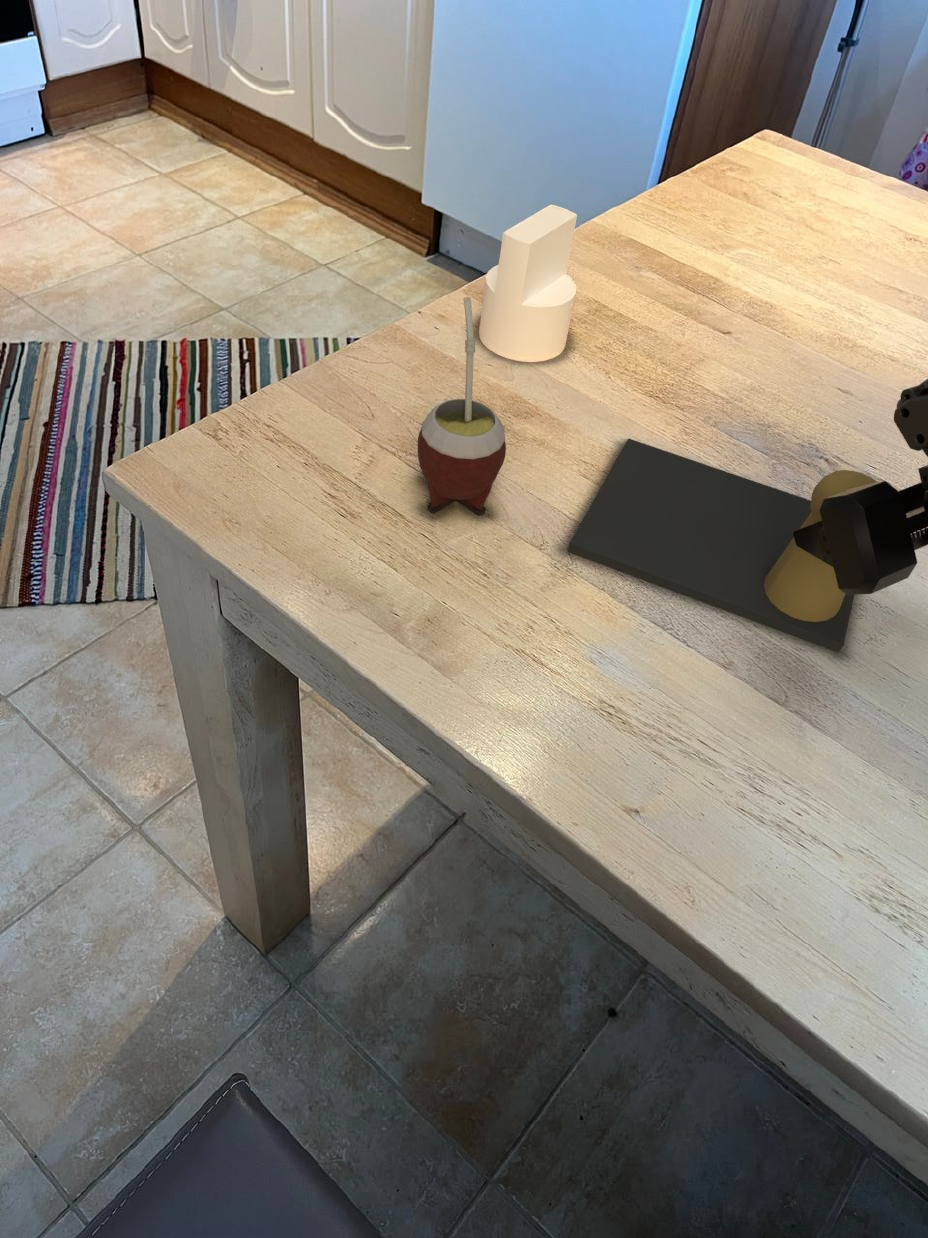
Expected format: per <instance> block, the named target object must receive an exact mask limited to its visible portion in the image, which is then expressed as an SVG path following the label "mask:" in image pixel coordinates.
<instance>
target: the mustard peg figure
mask: <svg viewBox="0 0 928 1238" xmlns="http://www.w3.org/2000/svg"><path fill="white" fill-rule="evenodd" d="M876 482H878V481H877V480H876V479H874V477H872V476H869V475H867V474H865V473H863V472H859V471H855V470H851V469H839V470H835V471H833V472H829V473H828V474H826V475H825V476H823V477H822V478H821V479H820V481H819V482H818V483H817V484H816V485H815V486H814V488H813V490H812V492H811V497H810V500H811V503H810V508H811V511H812V512H811V513H810V515H809V516H808V518H807V519H806V520H805V522H804V523H803V525H802V526H801V528H803V527H805V526H808V525H810V524H813V523H816V522H818V521H821V520H822V519H821V514H820V507H821V504H822V502H823V499H824V498H827V497H830V496H832V495H835V494H838V493H841V492H843V491H846V490H849V489H851V488H855V487H858V486H862V485H866V484H870V483H876ZM764 589H765V593H766V595H767V597H768V598H769V600H770V601H771V603H772V604H774V605H775V606H776V607H777V608H778V609H779V610H780V611H782V612H784V613H786V614H787V615H789V616H791V617H793V618H797V619H800V620H803V621H810V622H820V621H826V620H828V619H830V618H832V617H834V616H835V615H836V614H837V612H838V611H839V610H840V607H841V604H842V602H843V599H844V596H845V593H844V592H842V591H841V590H840V589H839V588H838V584H837V580H836V576H835V572H834V568H833V567H832V566H830V565H828V564H827V563H825V562H823V561H822V560H820V559H818V558H817V557H815V556H813V555H811V554H810V553H808V552H806V551H805V550H803V549H801V548H799V547H798V546H797V545H796V543H795V539H794V538H793V539H792V540H791V542H790V543H789V545H788V546H787V547H786V549H785V550H784V552H783V553H782V555H781V556H780V557H779V559H778V560H777V562H776V563H775V565H774V566H773V567H772V569H771V570H770V572H769V573H768V575H767V576H766V577H765V582H764Z"/></svg>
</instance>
